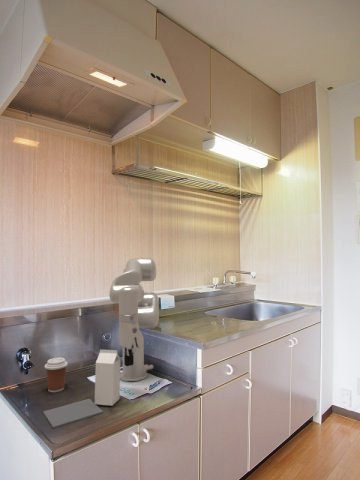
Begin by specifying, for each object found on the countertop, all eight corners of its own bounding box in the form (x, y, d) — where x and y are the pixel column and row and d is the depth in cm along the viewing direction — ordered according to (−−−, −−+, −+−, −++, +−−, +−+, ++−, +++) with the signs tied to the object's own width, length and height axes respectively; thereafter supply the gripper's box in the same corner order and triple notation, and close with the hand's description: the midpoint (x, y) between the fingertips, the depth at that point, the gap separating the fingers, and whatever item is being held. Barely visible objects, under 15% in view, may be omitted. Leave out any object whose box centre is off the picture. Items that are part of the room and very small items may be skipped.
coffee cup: (47, 395, 131) (47, 365, 131) (42, 388, 138) (42, 359, 138) (70, 389, 136) (70, 360, 136) (64, 382, 143) (64, 355, 144)
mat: (89, 399, 126) (89, 398, 126) (102, 412, 116) (102, 411, 116) (43, 412, 116) (43, 411, 116) (53, 428, 106) (53, 426, 106)
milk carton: (112, 406, 120) (113, 352, 122) (94, 404, 121) (95, 351, 123) (119, 399, 127) (120, 348, 129) (102, 397, 128) (103, 347, 130)
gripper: (146, 319, 127) (146, 368, 126) (128, 314, 139) (128, 358, 138) (128, 322, 122) (129, 372, 121) (111, 316, 134) (112, 362, 133)
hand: (129, 364), depth 130 cm, fingers closed
